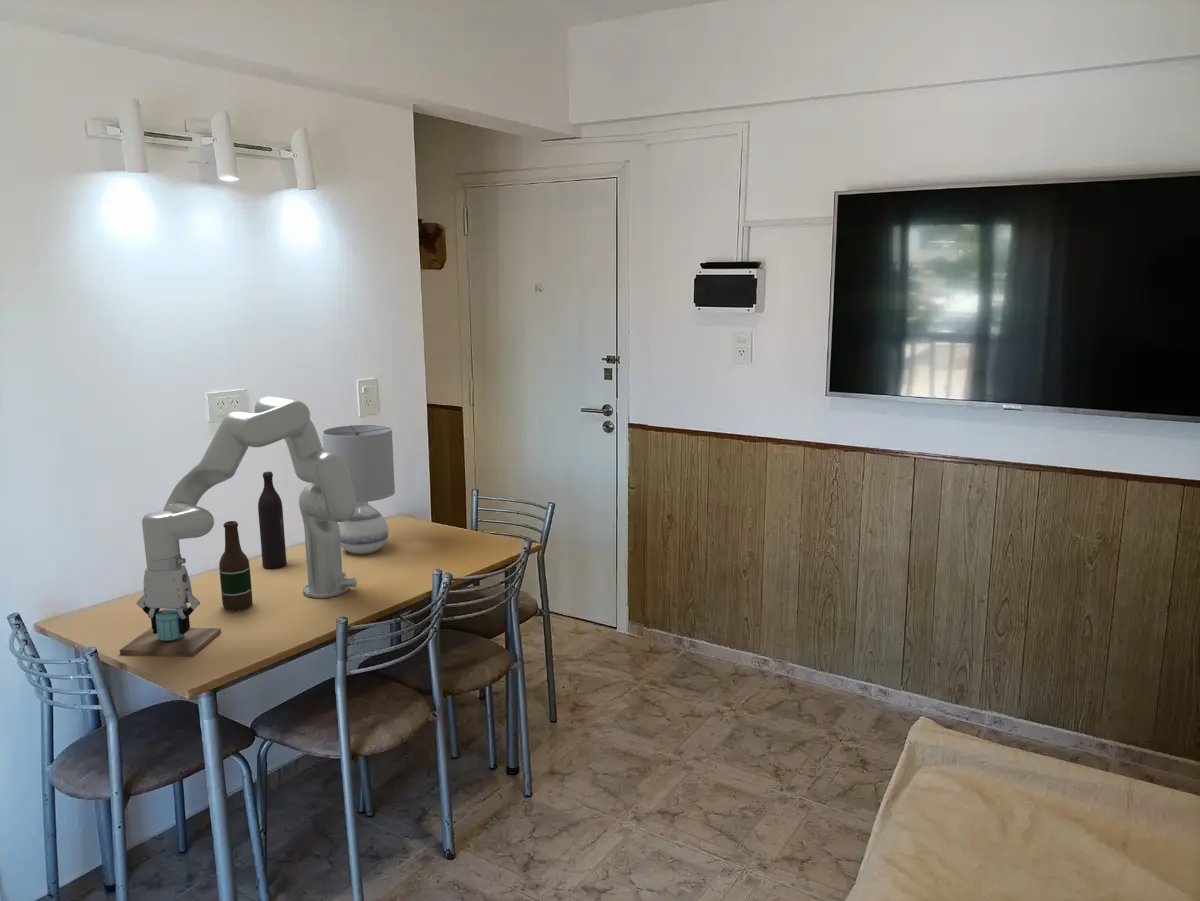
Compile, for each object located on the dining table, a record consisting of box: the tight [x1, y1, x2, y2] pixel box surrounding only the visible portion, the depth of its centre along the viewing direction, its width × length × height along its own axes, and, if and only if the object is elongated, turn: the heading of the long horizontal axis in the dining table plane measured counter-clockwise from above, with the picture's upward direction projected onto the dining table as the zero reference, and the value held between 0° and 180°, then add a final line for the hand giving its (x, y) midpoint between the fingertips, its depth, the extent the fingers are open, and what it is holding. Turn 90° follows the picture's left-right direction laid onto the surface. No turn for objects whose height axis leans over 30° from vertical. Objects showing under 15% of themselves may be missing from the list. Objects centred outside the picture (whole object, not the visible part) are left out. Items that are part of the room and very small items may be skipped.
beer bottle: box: [218, 520, 253, 612], centre depth 238 cm, size 8×8×24 cm
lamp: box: [321, 424, 396, 555], centre depth 286 cm, size 22×22×40 cm
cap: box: [156, 608, 185, 641], centre depth 215 cm, size 6×6×6 cm
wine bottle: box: [257, 471, 287, 570], centre depth 271 cm, size 7×7×30 cm
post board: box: [119, 626, 222, 657], centre depth 216 cm, size 18×14×6 cm
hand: (171, 631), depth 216 cm, fingers closed on cap, 6 cm apart
